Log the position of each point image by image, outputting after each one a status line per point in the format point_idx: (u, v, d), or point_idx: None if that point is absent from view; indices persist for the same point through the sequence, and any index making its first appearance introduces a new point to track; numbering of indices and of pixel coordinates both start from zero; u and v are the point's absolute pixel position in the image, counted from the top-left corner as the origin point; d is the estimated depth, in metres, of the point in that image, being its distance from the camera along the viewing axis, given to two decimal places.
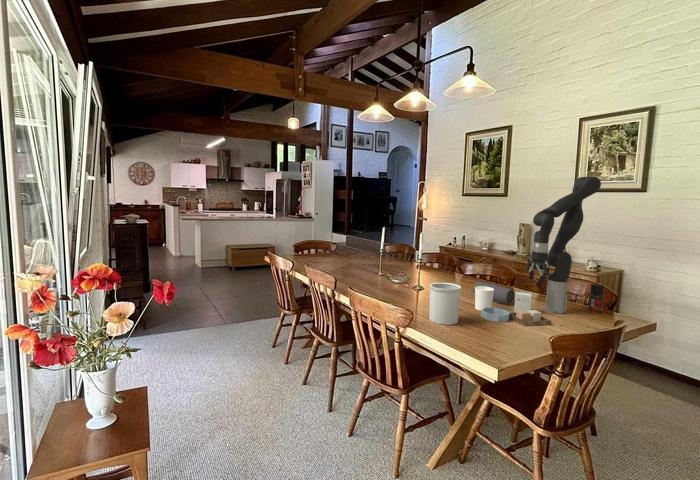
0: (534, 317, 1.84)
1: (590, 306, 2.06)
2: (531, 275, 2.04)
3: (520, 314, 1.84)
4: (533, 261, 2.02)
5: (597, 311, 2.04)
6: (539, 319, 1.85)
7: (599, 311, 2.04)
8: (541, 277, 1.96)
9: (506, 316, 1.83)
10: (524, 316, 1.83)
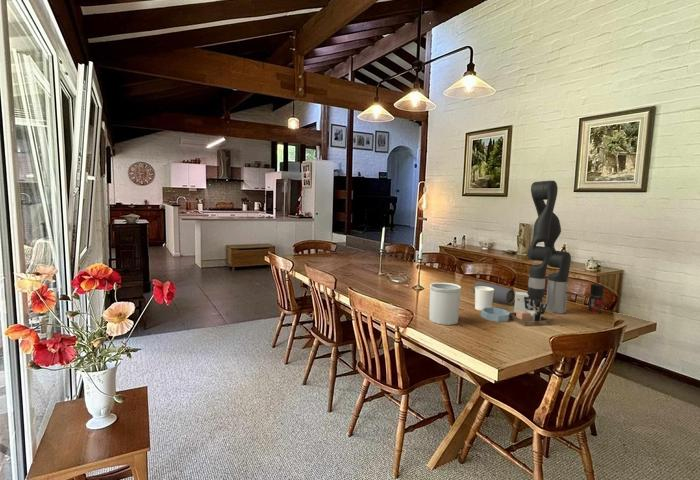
0: (534, 317, 1.84)
1: (590, 306, 2.06)
2: None
3: (520, 314, 1.84)
4: (529, 296, 1.88)
5: (597, 311, 2.04)
6: None
7: (599, 311, 2.04)
8: (536, 316, 1.83)
9: (506, 316, 1.83)
10: (524, 316, 1.83)
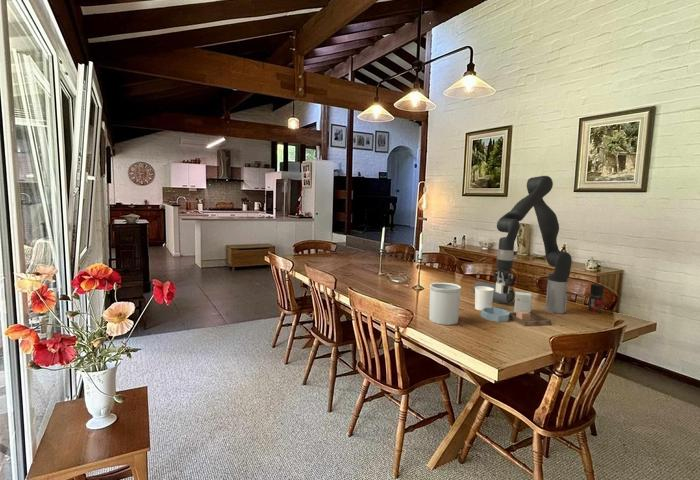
0: (502, 289, 1.86)
1: (590, 306, 2.06)
2: None
3: (520, 314, 1.84)
4: (498, 269, 1.89)
5: (597, 311, 2.04)
6: None
7: (599, 311, 2.04)
8: (504, 287, 1.85)
9: (506, 316, 1.83)
10: (524, 316, 1.83)
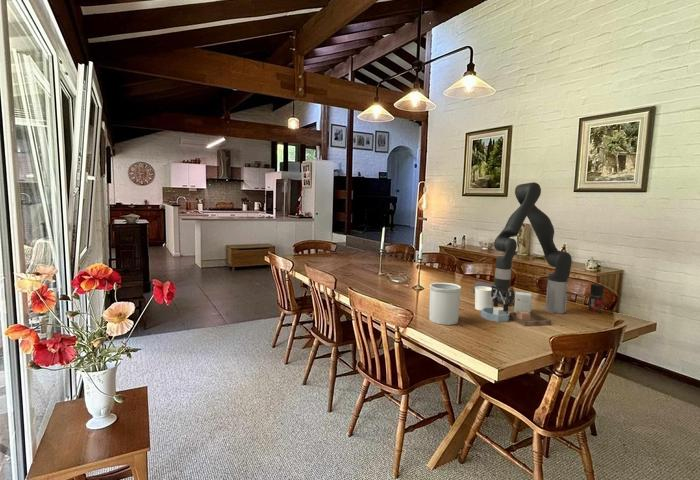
0: (500, 314, 1.88)
1: (590, 306, 2.06)
2: (495, 302, 1.93)
3: (520, 314, 1.84)
4: (496, 288, 1.91)
5: (597, 311, 2.04)
6: None
7: (599, 311, 2.04)
8: (504, 305, 1.85)
9: (506, 316, 1.83)
10: (524, 316, 1.83)
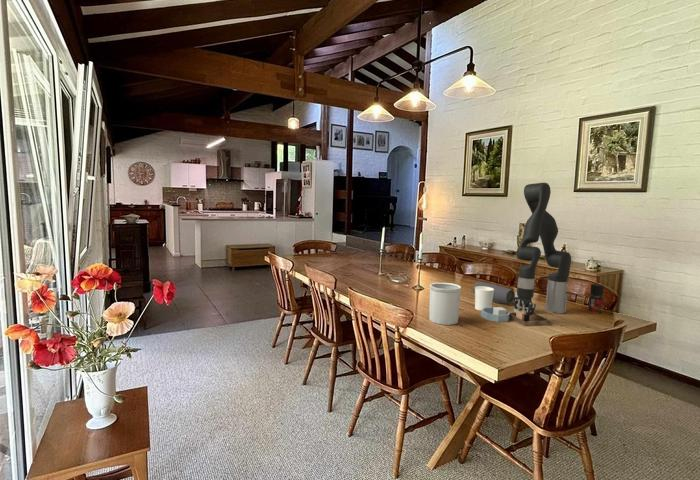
0: (500, 314, 1.88)
1: (590, 306, 2.06)
2: None
3: (520, 314, 1.84)
4: (519, 297, 1.87)
5: (597, 311, 2.04)
6: None
7: (599, 311, 2.04)
8: (525, 316, 1.82)
9: (506, 316, 1.83)
10: None
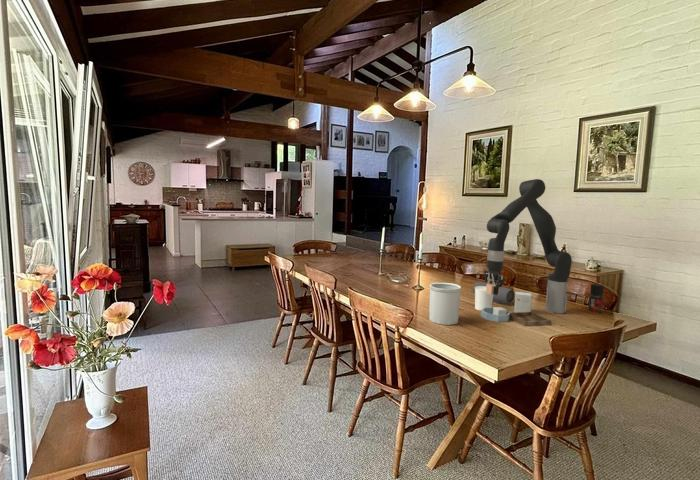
0: (500, 314, 1.88)
1: (590, 306, 2.06)
2: None
3: (490, 286, 1.86)
4: (489, 270, 1.89)
5: (597, 311, 2.04)
6: None
7: (599, 311, 2.04)
8: (494, 288, 1.84)
9: (506, 316, 1.83)
10: (493, 289, 1.85)
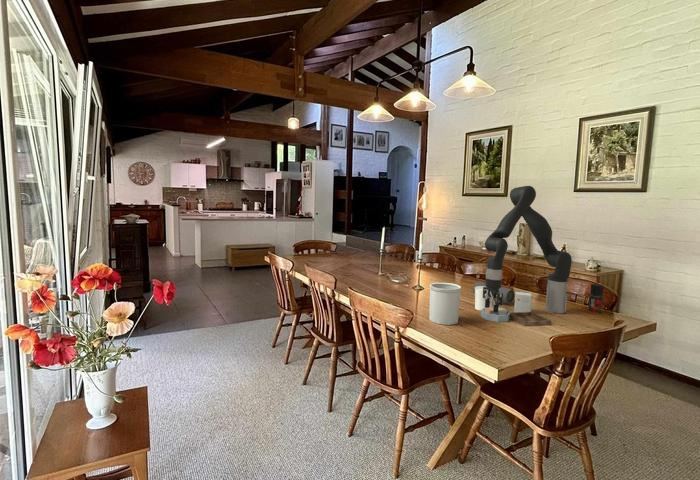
0: (500, 314, 1.88)
1: (590, 306, 2.06)
2: (487, 303, 1.92)
3: (488, 311, 1.87)
4: (487, 288, 1.90)
5: (597, 311, 2.04)
6: None
7: (599, 311, 2.04)
8: (494, 306, 1.84)
9: (506, 316, 1.83)
10: (491, 313, 1.87)
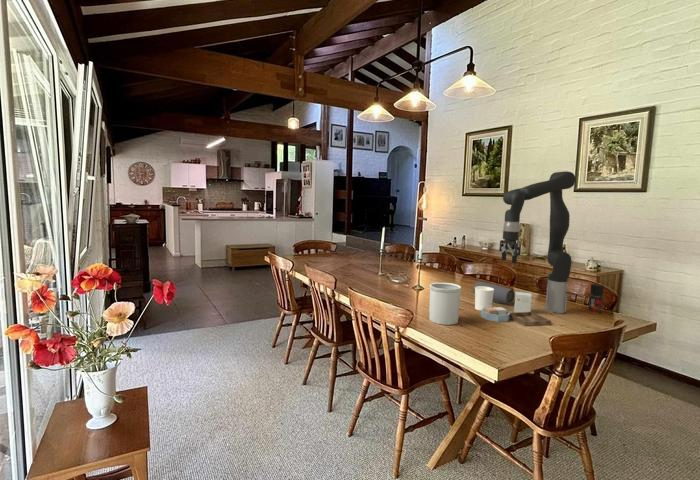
0: (500, 314, 1.88)
1: (590, 306, 2.06)
2: (504, 256, 1.97)
3: (488, 311, 1.87)
4: (505, 241, 1.95)
5: (597, 311, 2.04)
6: None
7: (599, 311, 2.04)
8: (513, 257, 1.89)
9: (506, 316, 1.83)
10: (491, 313, 1.87)
